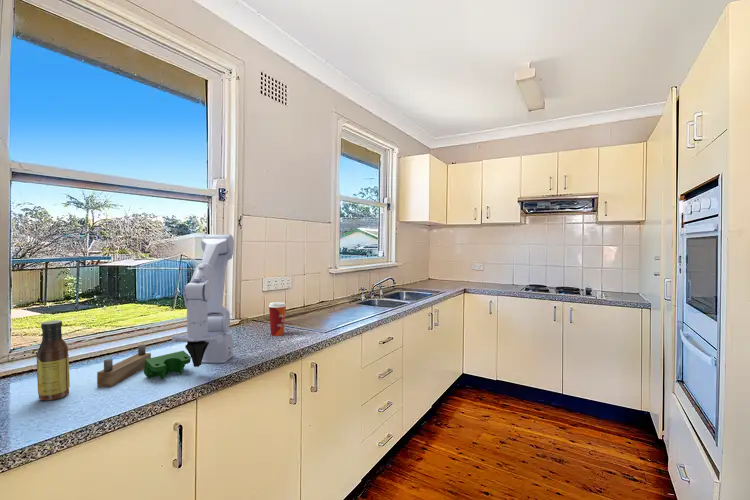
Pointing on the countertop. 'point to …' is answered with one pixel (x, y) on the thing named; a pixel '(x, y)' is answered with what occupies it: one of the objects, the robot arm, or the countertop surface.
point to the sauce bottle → (52, 363)
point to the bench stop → (122, 368)
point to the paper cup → (277, 318)
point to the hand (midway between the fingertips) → (197, 365)
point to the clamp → (166, 364)
